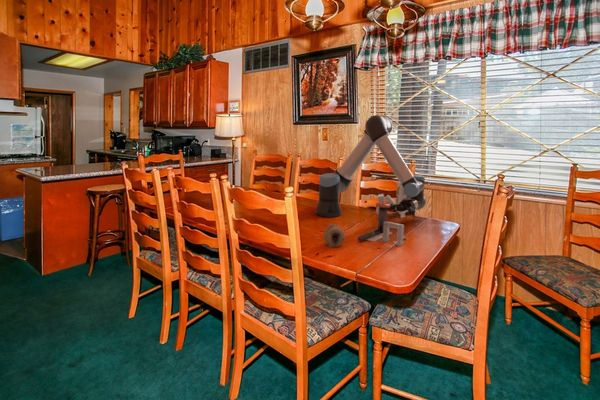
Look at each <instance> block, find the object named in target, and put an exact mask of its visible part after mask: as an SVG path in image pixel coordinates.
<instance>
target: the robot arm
mask: <svg viewBox="0 0 600 400" xmlns="http://www.w3.org/2000/svg"><path fill="white" fill-rule="evenodd" d="M364 127H365V128H364V131H363V136H362V138H361V139H360V140H359V142H358V143H357V144H356V146H355V148H354V149H353V150H352V151H351V153H350V155H348V157H347V158H346V159H345V161H344V162H343V164H342V165H341V167H340V166H339V167H337V168H336V169H335V171H334V172H330V173H329V172H328V173H323V174H321V175H319V181H318V184H319V186H318V189H319V190H318V203H317V205H316V208H315V215H316V214H317V216H318V215H319V217H323V216H324V217H325V218H333V217H334V218H337V217H340V216H342V208H341V204H340V194H341V193H343V192H346V191H347V190H348V189H349V188H350V185H351V182H352V181H353V180H354V174H355V173H356V172H357V170H358V169H359V168H360V167H361V165H362V164H363V163H364V161H365V160H366V158H367V157H368V156H369V155H370V153H371V152H372V150H373V149H374V148H375V146H377V148H378V149H379V151H380V152H381V154H382V156H383V158H384V159H385V160H386V162H387V164H388V165H389V167H390V168H391V170H392V172H393V174H394V176H396V177H395V178H396V179H397V180H398V182H400V183H401V185H402V186H403V188H404V193H405V195H406V196H408V197H410V198H409V199H406V200H403V201H401V202H400V203H399V204H396V203H395V204H394V203H392V204H391V207H390V208H387V211H394V212H396V211H401V215H400V214H399V215H400V219H402V218H405V217H408V216H412V217H415V215H416V211H419V210H421V209H423V208H424V207H426V205H427V200H426V198H425V184H426V177H425V176H424V175H422V174H413V173H412V171H411V170H410V168H409V167H408V165H407V163H406V162H405V160H404V158H403V157H402V155H401V154H400V152H399V150H398V149H397V148H396V145H395V144H394V143H393V141H392V139H391V138H390V134H391V132H392V131H393V122H392V120H391V118H390V117H388V116H386V115H382V114H381V115H378V114H375V115H374V114H373V115H371V116H370V117H369V118H368V119H367V120H366V122H365V125H364ZM395 207H396V208H395ZM396 209H397V210H396ZM375 213H376V214H379V207H376V209H375ZM336 216H337V217H336ZM324 217H323V218H324Z"/></svg>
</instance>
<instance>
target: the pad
mask: <svg viewBox="0 0 600 400" xmlns="http://www.w3.org/2000/svg"><path fill="white" fill-rule="evenodd" d="M369 232H370V231H369ZM369 232H368V231H367V233H369ZM392 234H394V233H393V232H391V231H389V236H390V235H392ZM358 237H359V236H357V239H358ZM382 239H383V233H379V234H377V235H375V236H372V237H370V238H368V239H365V240H364V241H369V242H372V243H375V242H377V241H381V240H382Z"/></svg>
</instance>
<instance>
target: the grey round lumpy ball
mask: <svg viewBox="0 0 600 400" xmlns="http://www.w3.org/2000/svg"><path fill="white" fill-rule="evenodd" d="M323 235H324V237H323V238H324V242H325V244H326V246H328V247H329V248H339V247H340V246H342V245H343V243H344V242H345V240H346V236H345V231H344V230H343V228H341V227H340V225H339V224H334V223H333V224H330V225H328V226H327V227H326V229H325V230H324V232H323Z"/></svg>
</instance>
